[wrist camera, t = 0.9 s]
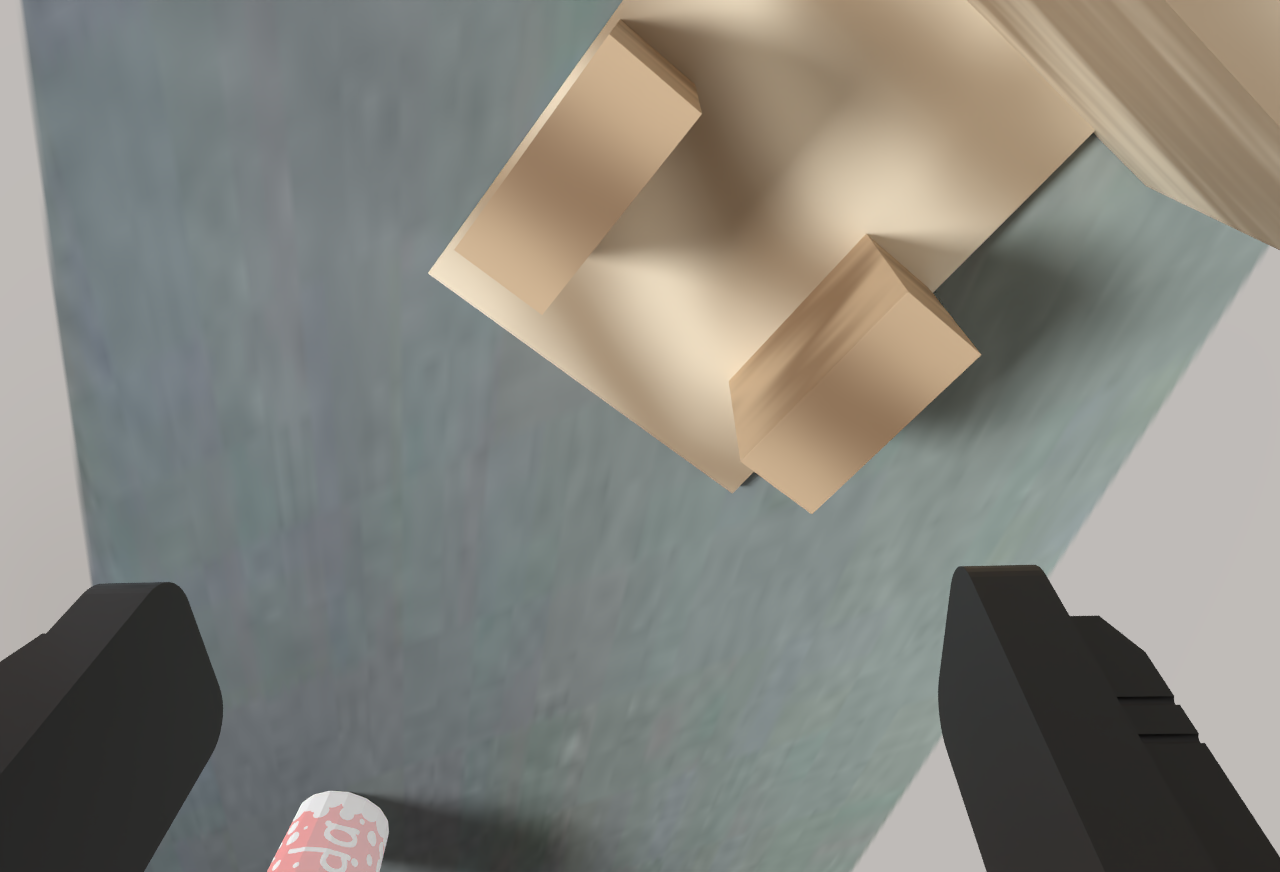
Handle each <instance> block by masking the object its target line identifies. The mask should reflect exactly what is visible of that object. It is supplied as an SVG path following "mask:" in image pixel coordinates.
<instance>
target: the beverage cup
mask: <svg viewBox="0 0 1280 872" xmlns="http://www.w3.org/2000/svg"><path fill="white" fill-rule="evenodd" d="M388 834H389V828H388V820H387V818H386V817H385V815H384V813H383V812H382V810H381V809H380V808H379V807H378V806H376V805H375V804H374V803H372V802H371V801H369V800H368V799H367V798H364V797H361V796H359V795H356V794H353V793H350V792H341V791H327V792H323V793H318V794H314V795H313V796H311V797H310V798H308V799H307V800H305V801H304V802H302V804H301V806H300V808H299V810H298V812H297V814H296V816H295V818H294V820H293V822H292V824H291V826H290V828H289V830H288V832H287V834H286V835H285V837H284V839H283V841H282V843H281V845H280V847H279V849H278V851H277V853H276V855H275V857H274V859H273V861H272V863H271V865H270V867H269V869H268V871H267V872H379V871H380V867H381V863H382V859H383V855H384V851H385V847H386V842H387V838H388Z"/></svg>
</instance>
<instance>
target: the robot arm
mask: <svg viewBox="0 0 1280 872" xmlns="http://www.w3.org/2000/svg"><path fill="white" fill-rule="evenodd" d="M938 702H939V715H940V723H941V729H942V734H943V739H944V743H945V746H946V749H947V752H948V756H949V759H950V761H951V765H952V767H953V771H954V774H955V777H956V779H957V783H958V785H959V789H960V792H961V795H962V798H963V801H964V804H965V807H966V810H967V813H968V816H969V819H970V822H971V825H972V828H973V831H974V834H975V837H976V840H977V843H978V847H979V850H980V853H981V855H982V859H983V862H984V865H985V868H986V871H987V872H1280V857H1279V855H1278V854H1277V852H1276V851H1275V849H1274V848H1273V846H1272V845H1271V843H1270V842H1269V840H1268V839H1267V837H1266V836H1265V834H1264V833H1263V831H1262V829H1261V828H1260V826H1259V825H1258V824H1257V822H1256V820H1255V819H1254V817H1253V816H1252V814H1251V813H1250V811H1249V810H1248V808H1247V807H1246V805H1245V803H1244V802H1243V800H1242V799H1241V797H1240V796H1239V794H1238V793H1237V791H1236V790H1235V788H1234V787H1233V785H1232V784H1231V782H1230V781H1229V779H1228V778H1227V776H1226V775H1225V773H1224V772H1223V770H1222V768H1221V767H1220V765H1219V764H1218V762H1217V761H1216V760H1215V758H1214V756H1213V755H1212V753H1211V752H1210V750H1209V749H1208V747H1207V746H1206V744H1205V743H1200V741H1199V738H1198V732H1197V730H1196V729H1195V727H1194V726H1193V724H1192V723H1191V721H1190V720H1189V718H1188V717H1187V715H1186V714H1185V712H1184V710H1183V709H1182V708H1181V706H1180V705H1175V703H1174V695H1173V694H1172V692H1171V691H1170V689H1169V688H1168V686H1167V685H1166V683H1165V681H1164V680H1163V678H1162V677H1161V675H1160V674H1159V672H1158V671H1157V669H1156V668H1155V666H1154V665H1153V663H1152V662H1151V660H1150V659H1149V657H1148V656H1147V654H1146V653H1145V652H1144V651H1143V650H1142V649H1141V648H1139V647H1138V646H1137V645H1135V644H1134V643H1133V642H1132V641H1130V640H1129V639H1128V638H1126V637H1125V636H1124V635H1123V634H1121V633H1120V632H1119V631H1118V630H1116V629H1115V628H1114V627H1112V626H1111V625H1110V624H1109V623H1107V622H1106V621H1105V620H1103V619H1102V618H1101V617H1100V616H1069V615H1068V613H1067V611H1066V609H1065V607H1064V606H1063V604H1062V602H1061V600H1060V599H1059V597H1058V595H1057V593H1056V592H1055V590H1054V588H1053V587H1052V585H1051V583H1050V581H1049V580H1048V578H1047V576H1046V575H1045V573H1044V572H1043V570H1042V569H1041V568H1040V567H1038V566H1037V565H1003V566H960V567H958V568H957V569H956V570H955V572H954V574H953V578H952V582H951V589H950V596H949V604H948V612H947V620H946V628H945V636H944V644H943V652H942V660H941V668H940V676H939V686H938ZM222 718H223V701H222V695H221V691H220V687H219V684H218V682H217V679H216V676H215V673H214V671H213V668H212V665H211V662H210V660H209V657H208V654H207V651H206V649H205V646H204V643H203V640H202V637H201V635H200V632H199V629H198V626H197V624H196V621H195V618H194V615H193V613H192V610H191V607H190V604H189V601H188V599H187V597H186V595H185V593H184V592H183V590H182V589H181V588H180V587H179V586H178V585H176V584H174V583H170V582H156V583H112V584H98V585H95V586H92V587H91V588H89V589H88V590H87V591H86V592H84V593H83V594H82V595H81V596H80V598H79V599H78V600H77V601H76V602H75V603H74V604H73V605H72V606H71V607H70V609H69V610H68V611H67V612H66V613H65V614H64V615H63V616H62V617H61V618H60V619H59V620H58V621H57V623H56V624H55V625H54V626H53V627H52V628H51V629H50V630H49V631H48V632H47V633H46V634H41V635H40V636H38V637H37V638H35V639H34V640H32V641H31V642H29V643H28V644H26V645H25V646H23V647H22V648H20V649H19V650H17V651H16V652H15V653H13V654H11V655H10V656H8V657H7V658H6V659H4V660H2V661H1V662H0V872H144V870H145V869H146V867H147V865H148V863H149V862H150V860H151V858H152V857H153V855H154V853H155V851H156V850H157V848H158V846H159V845H160V843H161V841H162V839H163V838H164V836H165V834H166V832H167V831H168V829H169V827H170V826H171V824H172V822H173V820H174V819H175V817H176V815H177V813H178V812H179V810H180V808H181V807H182V805H183V803H184V801H185V800H186V798H187V796H188V794H189V793H190V791H191V789H192V788H193V786H194V784H195V782H196V781H197V779H198V777H199V776H200V774H201V772H202V770H203V769H204V767H205V765H206V763H207V762H208V760H209V758H210V757H211V755H212V753H213V751H214V749H215V747H216V744H217V742H218V738H219V735H220V731H221V726H222Z"/></svg>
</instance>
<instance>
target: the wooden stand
mask: <svg viewBox="0 0 1280 872" xmlns="http://www.w3.org/2000/svg"><path fill="white" fill-rule="evenodd" d="M1092 133H1094V134H1095V135H1096V136H1097V137H1098V138H1099V139H1100V140H1101V141H1102V142H1103V143H1104V144H1105V145H1106V146H1107V147H1108V148H1109V149H1110V150H1111V151H1112V152H1113V153H1114V154H1115V155H1116V156H1117V157H1118V158H1119V159H1120V160H1121V161H1122V162H1123V163H1124V164H1125V165H1126V166H1127V167H1128V168H1129V169H1130V170H1131V171H1132V172H1133V173H1134V174H1135V175H1136V176H1137V177H1138V178H1139V179H1140V180H1141V181H1142V182H1143V183H1144V184H1145V185H1146V186H1147V187H1149V188H1151V189H1153V190H1155V191H1157V192H1159V193H1161V194H1164V195H1166V196H1168V197H1170V198H1172V199H1174V200H1176V201H1178V202H1180V203H1182V204H1184V205H1187V206H1189V207H1191V208H1193V209H1195V210H1197V211H1199V212H1201V213H1203V214H1205V215H1207V216H1210V217H1212V218H1214V219H1216V220H1218V221H1220V222H1222V223H1224V224H1226V225H1228V226H1230V227H1232V228H1235V229H1237V230H1239V231H1241V232H1243V233H1245V234H1247V235H1249V236H1251V237H1253V238H1255V239H1258V240H1260V241H1262V242H1264V243H1266V244H1268V245H1270V246H1272V247H1274V248H1276V249H1278V250H1280V0H623V1H622V3H621V4H620V5H619V7H618V8H617V10H616V11H615V12H614V14H613V15H612V17H611V18H610V19H609V21H608V22H607V24H606V25H605V26H604V28H603V29H602V31H601V32H600V33H599V35H598V36H597V38H596V39H595V40H594V42H593V43H592V45H591V46H590V47H589V49H588V50H587V52H586V53H585V54H584V56H583V57H582V59H581V60H580V61H579V63H578V64H577V66H576V67H575V68H574V70H573V71H572V73H571V74H570V75H569V77H568V78H567V80H566V81H565V82H564V84H563V85H562V87H561V88H560V89H559V91H558V92H557V94H556V95H555V96H554V98H553V99H552V101H551V102H550V103H549V105H548V106H547V108H546V109H545V110H544V112H543V113H542V115H541V116H540V117H539V119H538V120H537V122H536V123H535V124H534V126H533V127H532V129H531V130H530V131H529V133H528V134H527V136H526V137H525V138H524V140H523V141H522V143H521V144H520V145H519V147H518V148H517V150H516V151H515V152H514V154H513V155H512V157H511V158H510V159H509V161H508V162H507V164H506V165H505V166H504V168H503V169H502V171H501V172H500V173H499V175H498V176H497V178H496V179H495V180H494V182H493V183H492V185H491V186H490V187H489V189H488V190H487V192H486V193H485V194H484V196H483V197H482V199H481V200H480V201H479V203H478V204H477V206H476V207H475V208H474V210H473V211H472V213H471V214H470V215H469V217H468V218H467V220H466V221H465V222H464V224H463V225H462V227H461V228H460V229H459V231H458V232H457V234H456V235H455V236H454V238H453V239H452V241H451V242H450V243H449V245H448V246H447V248H446V249H445V250H444V252H443V253H442V255H441V256H440V257H439V259H438V260H437V262H436V263H435V264H434V266H433V267H432V269H431V270H430V271H429V273H428V274H430V275H431V276H432V277H434V278H435V279H437V280H438V281H439V282H441V283H442V284H444V285H445V286H446V287H448V288H449V289H450V290H452V291H453V292H455V293H456V294H457V295H459V296H460V297H461V298H463V299H464V300H466V301H467V302H468V303H470V304H471V305H473V306H474V307H475V308H477V309H478V310H479V311H481V312H482V313H484V314H485V315H486V316H488V317H489V318H491V319H492V320H493V321H495V322H496V323H497V324H499V325H500V326H502V327H503V328H504V329H506V330H507V331H508V332H510V333H511V334H513V335H514V336H515V337H517V338H518V339H520V340H521V341H522V342H524V343H525V344H526V345H528V346H529V347H531V348H532V349H533V350H535V351H536V352H538V353H539V354H540V355H542V356H543V357H544V358H546V359H547V360H549V361H550V362H551V363H553V364H554V365H555V366H557V367H558V368H560V369H561V370H562V371H564V372H565V373H567V374H568V375H569V376H571V377H572V378H573V379H575V380H576V381H578V382H579V383H580V384H582V385H583V386H585V387H586V388H587V389H589V390H590V391H591V392H593V393H594V394H596V395H597V396H598V397H600V398H601V399H602V400H604V401H605V402H607V403H608V404H609V405H611V406H612V407H614V408H615V409H616V410H618V411H619V412H620V413H622V414H623V415H625V416H626V417H627V418H629V419H630V420H632V421H633V422H634V423H636V424H637V425H638V426H640V427H641V428H643V429H644V430H645V431H647V432H648V433H649V434H651V435H652V436H654V437H655V438H656V439H658V440H659V441H661V442H662V443H663V444H665V445H666V446H667V447H669V448H670V449H672V450H673V451H674V452H676V453H677V454H679V455H680V456H681V457H683V458H684V459H685V460H687V461H688V462H690V463H691V464H692V465H694V466H695V467H696V468H698V469H699V470H701V471H702V472H703V473H705V474H706V475H708V476H709V477H710V478H712V479H713V480H714V481H716V482H717V483H719V484H720V485H721V486H723V487H724V488H726V489H727V490H728V491H730V492H731V493H733V492H734V491H735V490H736V489H737V488H738V487H739V486H740V485H741V484H742V483H743V482H744V481H745V480H746V479H747V478H748V477H749V476H750V475H751V474H752V473H753V472H755V473H757V474H758V475H759V476H761V477H762V478H763V479H765V480H766V481H768V482H769V483H770V484H772V485H773V486H774V487H776V488H777V489H778V490H780V491H781V492H782V493H784V494H785V495H786V496H788V497H789V498H791V499H792V500H793V501H795V502H796V503H797V504H799V505H800V506H801V507H803V508H804V509H805V510H807V511H808V512H810V513H811V514H813V513H814V512H815V511H816V510H817V509H818V508H819V507H820V506H821V505H822V504H823V503H824V502H825V501H826V500H828V499H829V498H830V497H831V496H832V495H833V494H834V493H835V492H836V491H837V490H838V489H839V488H840V487H841V486H842V485H843V484H845V483H846V482H847V481H848V480H849V479H850V478H851V477H852V476H853V475H854V474H855V473H856V472H857V471H858V470H859V469H860V468H862V467H863V466H864V465H865V464H866V463H867V462H868V461H869V460H870V459H871V458H872V457H873V456H874V455H875V454H876V453H877V452H879V451H880V450H881V449H882V448H883V447H884V446H885V445H886V444H887V443H888V442H889V441H890V440H891V439H892V438H893V437H895V436H896V435H897V434H898V433H899V432H900V431H901V430H902V429H903V428H904V427H905V426H906V425H907V424H908V423H909V422H910V421H912V420H913V419H914V418H915V417H916V416H917V415H918V414H919V413H920V412H921V411H922V410H923V409H924V408H925V407H926V406H927V405H929V404H930V403H931V402H932V401H933V400H934V399H935V398H936V397H937V396H938V395H939V394H940V393H941V392H942V391H943V390H944V389H946V388H947V387H948V386H949V385H950V384H951V383H952V382H953V381H954V380H955V379H956V378H957V377H958V376H959V375H960V374H961V373H963V372H964V371H965V370H966V369H967V368H968V367H969V366H970V365H971V364H972V363H973V362H974V361H975V360H976V359H977V358H978V357H980V356H981V354H980V352H979V351H978V350H977V349H976V347H975V346H974V345H973V344H972V342H971V341H970V340H969V338H968V337H967V336H966V335H965V333H964V332H963V331H962V330H961V328H960V327H959V326H958V325H957V323H956V322H955V321H954V319H953V318H952V317H951V316H950V314H949V313H948V312H947V311H946V309H945V308H944V307H943V306H942V304H941V303H940V302H939V301H938V299H937V298H936V297H935V295H934V294H933V292H934V291H935V290H936V289H937V288H938V287H939V286H940V285H941V284H942V283H943V282H944V281H945V280H946V279H947V278H948V277H949V276H950V275H951V274H952V273H953V272H954V271H955V270H956V269H957V268H958V267H959V266H960V265H961V264H962V263H963V262H964V261H965V260H966V259H967V258H968V257H969V256H970V255H971V254H972V253H973V252H974V251H975V250H976V249H977V248H978V247H979V246H980V245H981V244H982V243H983V242H984V241H985V240H986V239H987V238H988V237H989V236H990V235H991V234H992V233H993V232H994V231H995V230H996V229H997V228H998V227H999V226H1000V225H1001V224H1002V223H1003V222H1004V221H1005V220H1006V219H1007V218H1008V217H1009V216H1010V215H1011V214H1012V213H1013V212H1014V211H1015V210H1016V209H1017V208H1018V207H1019V206H1020V205H1021V204H1022V203H1023V202H1024V201H1025V200H1026V199H1027V198H1028V197H1029V196H1030V195H1031V194H1032V193H1033V192H1034V191H1035V190H1036V189H1037V188H1038V187H1039V186H1040V185H1041V184H1042V183H1043V182H1044V181H1045V180H1046V179H1047V178H1048V177H1049V176H1050V175H1051V174H1052V173H1053V172H1054V171H1055V170H1056V169H1057V168H1058V167H1059V166H1060V165H1061V164H1062V163H1063V162H1064V161H1065V160H1066V159H1067V158H1068V157H1069V156H1070V155H1071V154H1072V153H1073V152H1074V151H1075V150H1076V149H1077V148H1078V147H1079V146H1080V145H1081V144H1082V143H1083V142H1084V141H1085V140H1086V139H1087V138H1088V137H1089V136H1090V135H1091V134H1092Z"/></svg>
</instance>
